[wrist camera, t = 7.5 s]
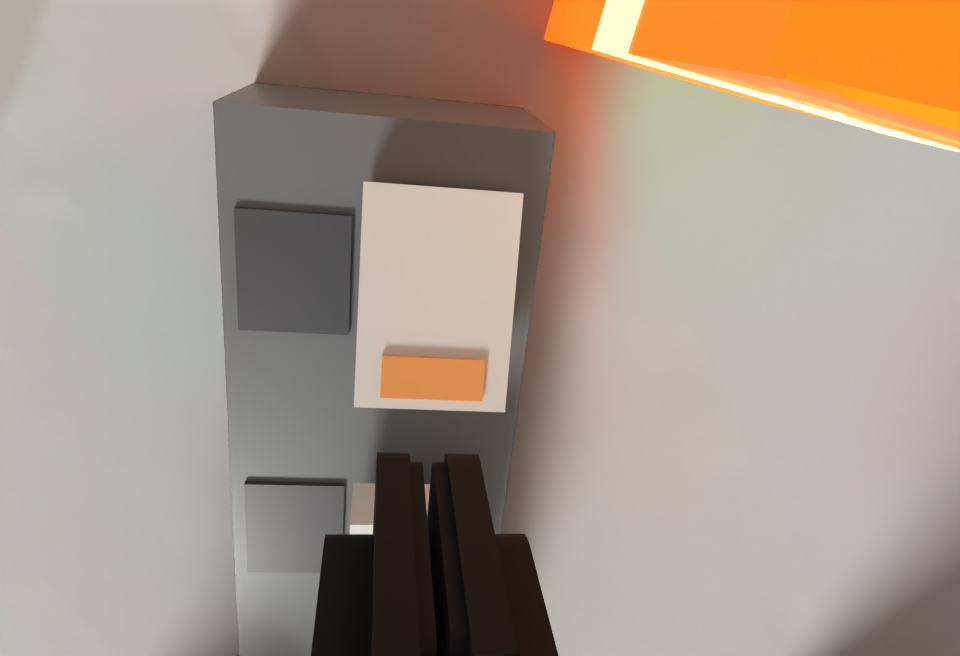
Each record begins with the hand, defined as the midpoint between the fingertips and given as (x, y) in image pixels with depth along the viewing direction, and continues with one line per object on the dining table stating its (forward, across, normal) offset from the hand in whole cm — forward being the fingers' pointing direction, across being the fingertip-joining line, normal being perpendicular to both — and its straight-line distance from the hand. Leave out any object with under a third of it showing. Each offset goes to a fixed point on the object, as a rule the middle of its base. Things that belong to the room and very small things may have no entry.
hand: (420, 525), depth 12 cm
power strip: (+13, +1, +10) cm, 16 cm away
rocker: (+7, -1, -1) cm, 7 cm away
